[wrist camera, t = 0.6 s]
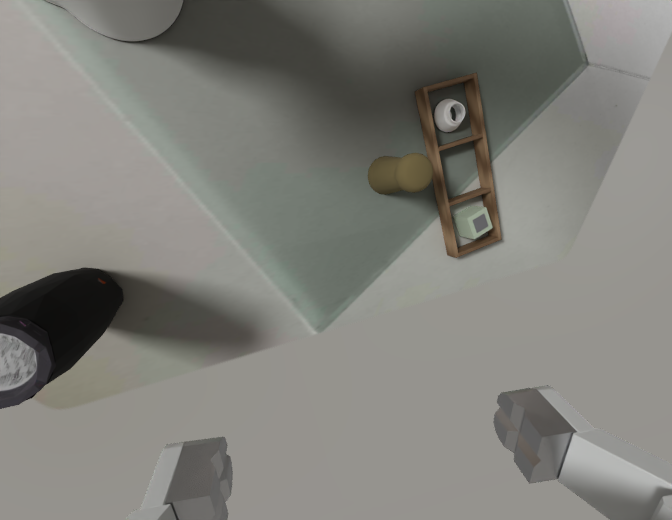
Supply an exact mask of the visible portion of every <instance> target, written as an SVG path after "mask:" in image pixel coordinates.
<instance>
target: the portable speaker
mask: <svg viewBox="0 0 672 520" xmlns="http://www.w3.org/2000/svg"><path fill="white" fill-rule="evenodd" d="M122 302H123V293H122V289H121V288H120V287H119V286H118V285H117V284H116V282H115V281H114V280H113V279H112V278H111V277H110V276H108V275H107V274H105V273H103V272H102V271H100V270H99V269H92V268H81V269H76V270H70V271H65V272H60V273H55V274H52V275H49V276H47V277H45V278H42V279H40V280H38V281H35V282H33V283H31V284H28V285H26V286H24V287H21V288H19V289H17V290H14V291H12V292H10V293H9V294H7V295H5V296H3V297H1V298H0V409H2V408H6V407H10V406H15V405H19V404H20V403H22V402H23V401H25V400H28V399H30V398H33V396H34V395H35V394H36V393H37V392H39V391H40V390H41V389H42V388H43V387H44V386H45V385H46V384H48V383H49V382H51V381H52V380H54V379H55V378H57V377H58V376H60V375H62V374H63V373H65V372H66V371H68V370H69V369H71V368H72V367H73V366H74V365H75V363H76V362H77V361H78V360H79V359H80V358H81V357H82V356H83V355H84V354H85V353H86V352H87V351H88V350H89V349H90V347H91V346H92V345H93V344H94V343H95V342H96V341H97V340H98V339H99V338H100V337H101V336H102V335H103V333H104V332H105V330H106V329H107V328H108V326H109V325H110V323H111V321H112V320H113V318H114V316H115V314H116V312H117V310H118V309H119V307H120V305H121V304H122Z"/></svg>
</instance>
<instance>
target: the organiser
mask: <svg viewBox="0 0 672 520" xmlns="http://www.w3.org/2000/svg"><path fill="white" fill-rule="evenodd" d="M460 83H464V86H465V92H466V99H467V105H468V111H469V117H470V124H471V130H472V136H470V137H466V138H463V139H460V140H457V141H454V142H451V143H448V144H444V145H441V146H438V144H437V139H436V134H435V128H434V123H433V118H432V113H431V107H430V102H429V97H428V92H431V91H435V90H438V89H442V88H446V87H449V86H453V85H456V84H460ZM415 96H416V101H417V106H418V111H419V116H420V121H421V126H422V131H423V136H424V141H425V146H426V151H427V156H428V159H429V160H430V162H431V164H432V166H433V177H432V180H433V185H434V190H435V195H436V200H437V205H438V210H439V215H440V220H441V225H442V230H443V235H444V240H445V245H446V250H447V255H449V256H452V257H455V258H457V257H459V256H462V255H464V254H467V253H469V252H472V251H474V250H477V249H479V248H482V247H484V246H487V245H489V244H491V243H494V242H496V241H499V240H501V232H500V226H499V219H498V212H497V205H496V199H495V192H494V185H493V178H492V172H491V165H490V158H489V152H488V145H487V138H486V131H485V125H484V118H483V111H482V104H481V98H480V91H479V84H478V78H477V73H473V74H470V75H466V76H463V77H459V78H455V79H452V80H448V81H444V82H441V83H437V84H433V85H430V86H426V87H423V88H421V89H419V90H417V91H415ZM472 140H473V142H474V149H475V155H476V161H477V167H478V174H479V180H480V186H481V188H479V189H476V190H473V191H470V192H468V193H465V194H462V195H459V196H456V197H454V198H451V199H448V197H447V191H446V186H445V181H444V176H443V170H442V165H441V160H440V155H439V151H441V150H444V149H448V148H451V147H454V146H457V145H460V144H463V143H466V142H469V141H472ZM479 195H482V199H483V205H484V207H486V208H487V211H488V214H489V218H490V221H491V224H492V227H493V228H492V229H490V230H489V231H488V236H486V237H484V238H481V239H478V240H476V241H473V242H471V243H468V244H466V245H463V246H461V247H458V248H457V244H456V239H455V233H454V228H453V223H452V218H451V212H450V207H449V206H452V205H455V204H457V203H460V202H463V201H466V200H468V199H471V198H474V197H477V196H479Z"/></svg>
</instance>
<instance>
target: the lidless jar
mask: <svg viewBox="0 0 672 520" xmlns="http://www.w3.org/2000/svg"><path fill="white" fill-rule="evenodd" d="M451 107H453V108H454V109H455V112H456V120H455V121H453V120H452V119H451V118H452V114H451V112H450V109H451ZM464 117H465V108H464V106H463V105H462V104H461V103H459V102H457V101H455V100H453V99H445V100H443V101H441V102H440V103H439V104H438V105H437V106H436V109H435V112H434V121H435V123H436V126H437V127H438V128H439V129H440V130H441V131H444V132H452V131H453V130H455V129H457V127H458V126H459V125H460V123H461V122H462V120H463V119H464Z"/></svg>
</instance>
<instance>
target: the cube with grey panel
mask: <svg viewBox="0 0 672 520" xmlns="http://www.w3.org/2000/svg"><path fill="white" fill-rule="evenodd" d="M453 219H454V221H455V224H456V227H457V230H458V232H459V235H460V236H462V237H466V238H471V239H476V238H477V237H479V236H481V235H482V234H484V233H485V232H487V231H489V230H490V229H492V228H493V227H492V224H491V221H490V218H489V214H488V211H487V208H486V207H478V206H470V207H468V208H466V209H465V210H463V211H461V212H460V213H458V214H456V215H455V216H453Z"/></svg>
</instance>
